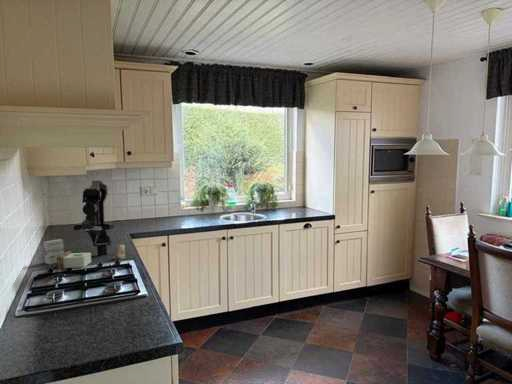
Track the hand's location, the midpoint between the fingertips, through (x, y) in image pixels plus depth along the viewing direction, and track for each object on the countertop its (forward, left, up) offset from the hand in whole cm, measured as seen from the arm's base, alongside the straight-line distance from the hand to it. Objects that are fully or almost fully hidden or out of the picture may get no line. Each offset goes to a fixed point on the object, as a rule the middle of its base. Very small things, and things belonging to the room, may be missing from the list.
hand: (94, 243), depth 196 cm
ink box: (-12, -26, -12) cm, 31 cm away
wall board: (+1, 0, -12) cm, 12 cm away
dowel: (-10, +10, -12) cm, 19 cm away
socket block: (+1, -9, -11) cm, 14 cm away
